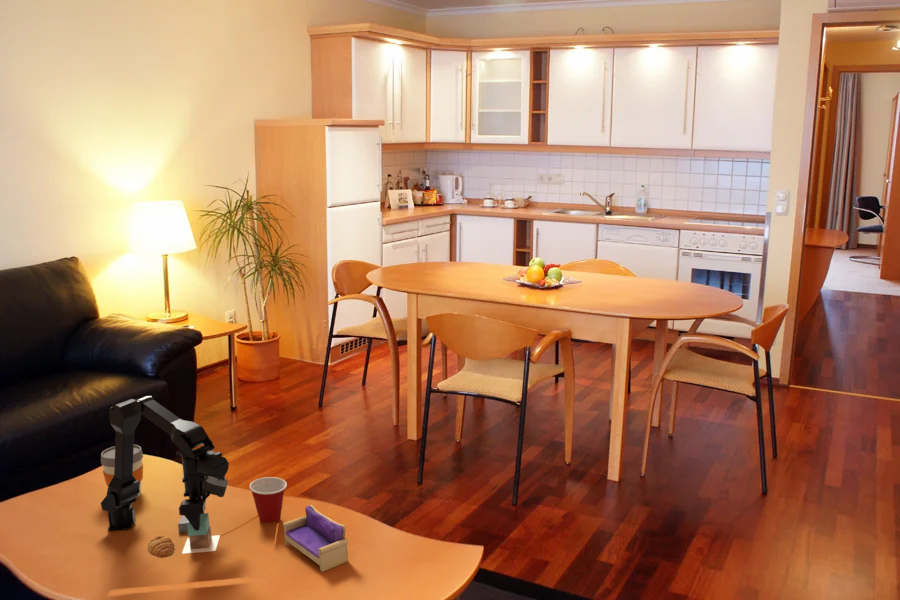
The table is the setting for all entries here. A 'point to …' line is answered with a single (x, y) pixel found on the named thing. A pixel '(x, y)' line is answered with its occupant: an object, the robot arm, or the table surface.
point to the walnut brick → (201, 540)
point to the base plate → (212, 548)
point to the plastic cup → (268, 497)
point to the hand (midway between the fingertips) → (199, 524)
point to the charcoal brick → (183, 524)
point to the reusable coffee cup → (109, 464)
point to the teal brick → (203, 526)
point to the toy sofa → (318, 538)
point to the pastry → (161, 546)
